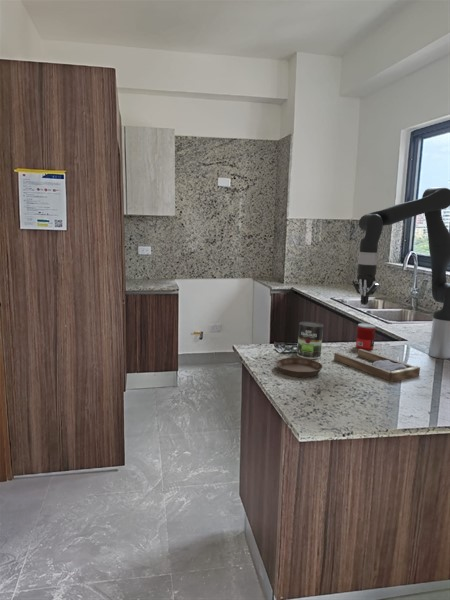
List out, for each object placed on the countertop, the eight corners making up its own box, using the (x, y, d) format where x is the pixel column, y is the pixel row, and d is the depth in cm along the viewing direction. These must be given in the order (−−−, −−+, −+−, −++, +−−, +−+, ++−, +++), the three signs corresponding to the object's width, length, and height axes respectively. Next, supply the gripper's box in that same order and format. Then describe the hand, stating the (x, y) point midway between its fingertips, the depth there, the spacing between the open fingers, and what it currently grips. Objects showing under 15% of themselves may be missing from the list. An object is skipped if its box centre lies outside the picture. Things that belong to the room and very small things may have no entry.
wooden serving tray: (360, 355, 202) (360, 347, 201) (419, 375, 177) (420, 367, 177) (334, 359, 193) (334, 352, 193) (392, 381, 169) (393, 372, 168)
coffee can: (318, 360, 191) (321, 327, 189) (294, 357, 195) (296, 324, 192) (322, 354, 200) (325, 323, 198) (299, 351, 204) (302, 320, 202)
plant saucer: (270, 374, 171) (271, 366, 171) (281, 362, 188) (282, 355, 187) (318, 382, 165) (318, 374, 165) (325, 368, 182) (325, 361, 181)
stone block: (391, 383, 173) (409, 374, 178) (391, 371, 172) (408, 363, 176) (367, 374, 183) (385, 367, 188) (366, 363, 182) (384, 356, 187)
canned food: (374, 351, 210) (376, 327, 208) (356, 349, 212) (358, 326, 210) (372, 346, 218) (374, 324, 216) (355, 345, 219) (357, 322, 217)
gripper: (386, 264, 186) (382, 306, 189) (361, 261, 197) (357, 301, 200) (374, 265, 182) (370, 307, 185) (348, 262, 193) (345, 302, 196)
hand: (364, 304), depth 192 cm, fingers closed
